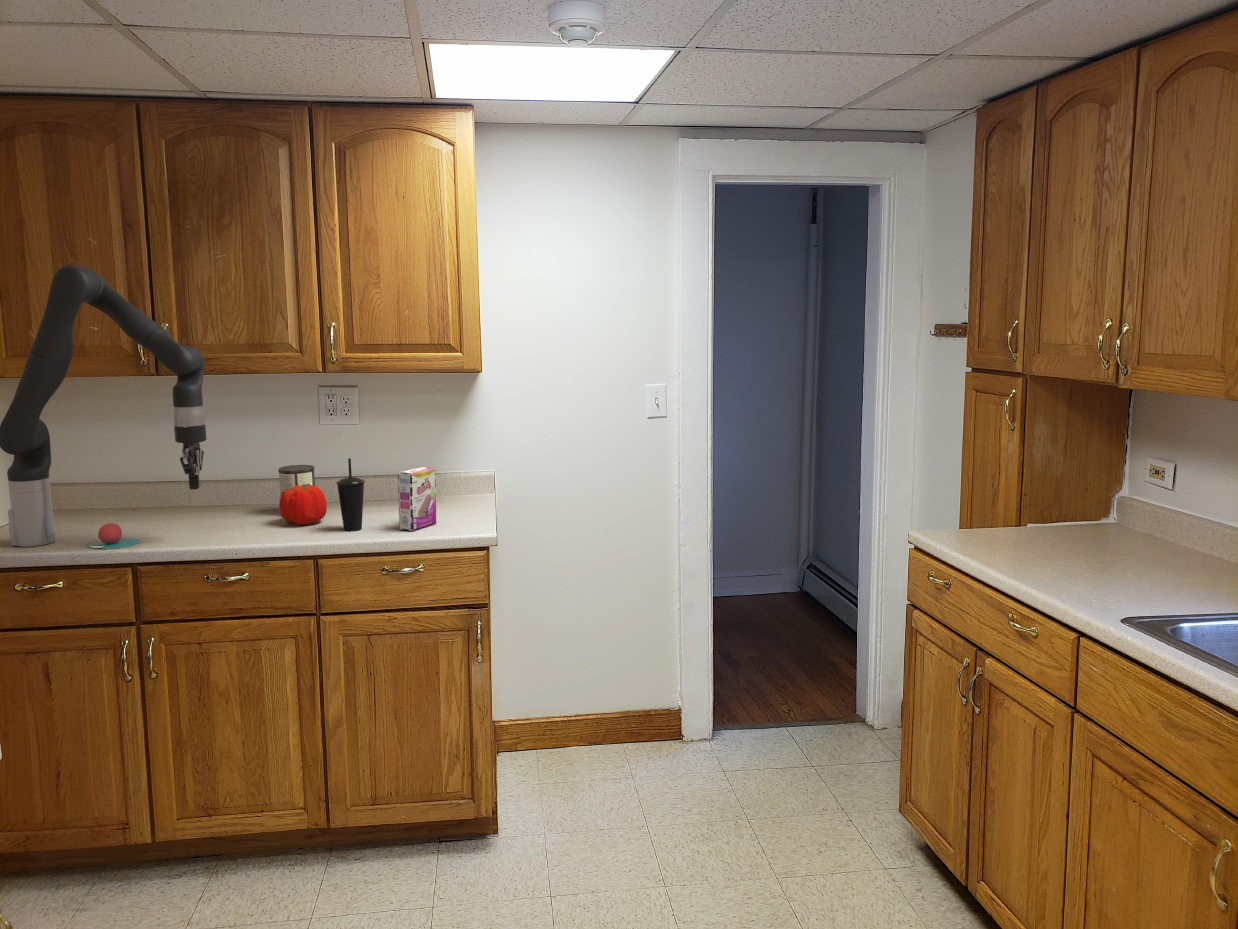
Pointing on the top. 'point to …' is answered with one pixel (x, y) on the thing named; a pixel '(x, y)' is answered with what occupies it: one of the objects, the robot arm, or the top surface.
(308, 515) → the tomato
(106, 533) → the ball
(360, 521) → the drinking cup
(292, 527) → the top surface
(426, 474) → the candy bar box
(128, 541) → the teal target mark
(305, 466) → the coffee can
